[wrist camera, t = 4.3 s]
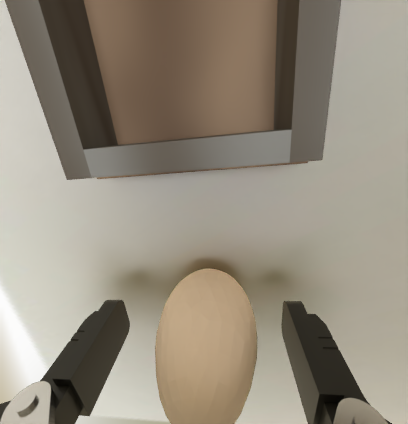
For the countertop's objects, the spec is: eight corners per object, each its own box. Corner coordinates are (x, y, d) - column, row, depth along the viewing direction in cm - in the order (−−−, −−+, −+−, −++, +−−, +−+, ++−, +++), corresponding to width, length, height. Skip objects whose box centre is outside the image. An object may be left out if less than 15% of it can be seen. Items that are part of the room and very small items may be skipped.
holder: (326, -176, 6) (437, -509, 3) (299, 159, 10) (336, 174, 7) (34, -97, 7) (-113, -273, 4) (108, 174, 11) (59, 193, 8)
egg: (254, 301, 13) (285, 478, 7) (188, 310, 14) (155, 474, 7) (239, 241, 12) (259, 393, 5) (166, 255, 13) (98, 401, 6)
